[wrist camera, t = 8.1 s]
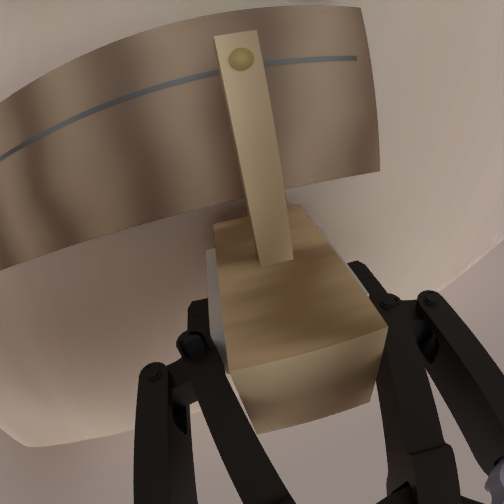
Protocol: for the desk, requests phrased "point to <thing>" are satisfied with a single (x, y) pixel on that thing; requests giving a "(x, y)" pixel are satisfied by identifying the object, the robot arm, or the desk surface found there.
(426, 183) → the desk surface
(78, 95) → the board
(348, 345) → the wooden lever on block
